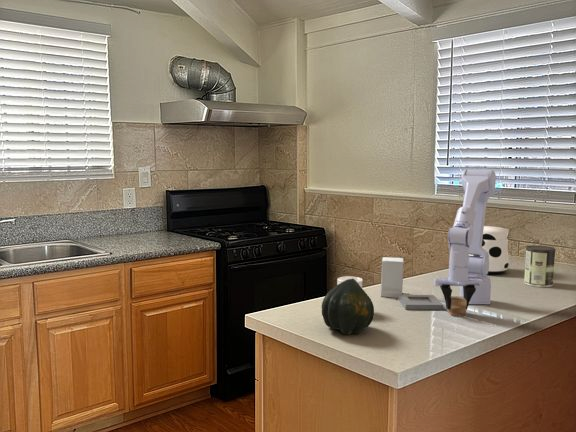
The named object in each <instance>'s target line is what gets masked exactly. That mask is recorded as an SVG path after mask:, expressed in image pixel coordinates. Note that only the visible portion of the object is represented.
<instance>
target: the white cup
mask: <svg viewBox="0 0 576 432" xmlns="http://www.w3.org/2000/svg"><path fill="white" fill-rule="evenodd" d="M352 278H353V279H354V280H356V281H357V283H358V284H359V285H360V286H361V288H362V289H363V280H364V279H363V278H362V277H358V276H351V275H350V276H349V275H348V276H347V275H346V276H340V277H337V279H336V280H337V281H336V282H337V285H338V284H340V283H342V282H344V281H345V280H348V279H352ZM337 285H336V286H337Z"/></svg>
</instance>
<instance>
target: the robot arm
mask: <svg viewBox="0 0 576 432" xmlns="http://www.w3.org/2000/svg"><path fill="white" fill-rule="evenodd" d="M496 176H497V175H496V172H495V170H494V169H489V170H488V169H484V170H483V169H468V168H465V169H463V171H462V173H461V186H462V188H463V191H464V196H463V202H462V206H460V207H459V208H458V209H457V211H456V215H455V219H454V223H453V225H452V227H449V229H448V233H447V243H448V244H447V245H448V247H447V248H448V251H449V256H448V257H449V260H448V261H449V263H448V277H443V278H441V277H440V278H433V286H434V287H440V289H441V292H442V294H443V295H442V296H443V297H444V301H445V302H444V303H445V308H446V310H447V309H450V307H451V296H452V292H453V289H452V288H451V287H454V286H455V287H459V296H462V297H463V298H465V299H466V300H467V304H466V311H467V310H468V307H469V305H492V304H491V303H492V302H491V291H492V281H491V278H490V276H489V275H488V274H489V273H488V271H489V254H488V252H487V251H486V250H485V249H483V248H482V238H483V230H484V226H485V219H486V211H487V205H488V201H489V199H490V198H491V197H493V196H494V194H495V190H496V189H495V188H496V182H497V181H496V180H497V177H496ZM469 254H470V255H479V256H482V257H478V256H469Z"/></svg>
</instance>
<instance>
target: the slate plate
mask: <svg viewBox="0 0 576 432" xmlns="http://www.w3.org/2000/svg"><path fill="white" fill-rule="evenodd" d="M397 300H398V301H400V302H399V303H400V304H401V305H402V307H403V308H404V309H405V310H413V311H417V310H418V311H421V310H422V311H423V310H426V311H428V310H430V311H433V310H434V311H438V310H439V311H443V310H444V304H443V303H442V302H441V301H440V300H439V299H438V298H437V297H436V296H435V295H434V294H402V295H398V298H397Z"/></svg>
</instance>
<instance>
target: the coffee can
mask: <svg viewBox="0 0 576 432" xmlns="http://www.w3.org/2000/svg"><path fill="white" fill-rule="evenodd" d="M556 251H557V250H556V248H555V247H552V246H549V245H547V246H546V245H536V244H535V245H534V244H533V245H527V246H525V262H524V264H525V265H524V278H523V279H524V280H523V284H525V285H526V284H527V286H530V287H534V286H535V288H551V287H553V286H554V275H555V272H554V271H555V260H556Z"/></svg>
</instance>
